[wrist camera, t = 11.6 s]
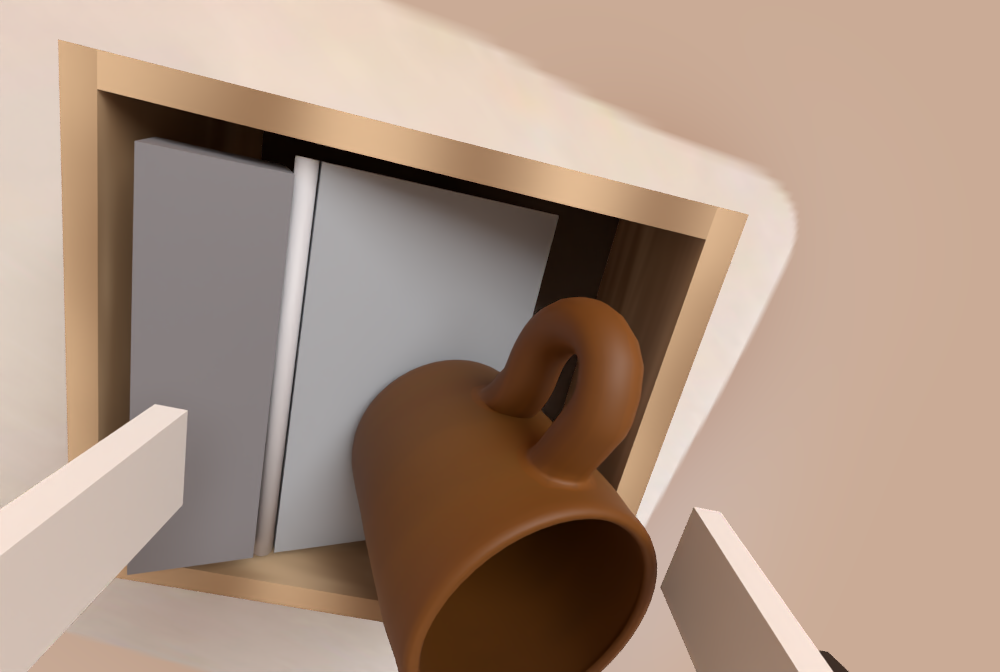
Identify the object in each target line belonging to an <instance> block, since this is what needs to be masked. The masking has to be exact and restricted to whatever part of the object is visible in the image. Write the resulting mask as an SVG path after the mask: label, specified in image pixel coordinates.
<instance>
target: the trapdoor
mask: <svg viewBox="0 0 1000 672" xmlns="http://www.w3.org/2000/svg"><path fill="white" fill-rule="evenodd" d="M319 162H320V166H319ZM318 170H319V174H318ZM317 179H318V182H317ZM316 187H317V191H316ZM315 195H316V199H315ZM314 203H315V207H314ZM313 211H314V215H313ZM558 218H559V216H558V215H555V214H552V213H547V212H543V211H538V210H534V209H530V208H525V207H521V206H516V205H512V204H508V203H503V202H499V201H495V200H490V199H486V198H481V197H477V196H473V195H468V194H464V193H460V192H455V191H451V190H446V189H442V188H438V187H433V186H429V185H424V184H420V183H416V182H411V181H407V180H403V179H398V178H394V177H389V176H385V175H381V174H376V173H372V172H367V171H363V170H359V169H354V168H350V167H346V166H341V165H337V164H332V163H328V162H324V161H319V160H315V159H311V158H307V157H302V156H297V155H295V164H294V173H293V172H292V171H291V170H290V169H289V168H288V167H287V166H286V165H284V164H279V163H275V162H270V161H265V160H261V159H256V158H252V157H247V156H242V155H238V154H233V153H229V152H224V151H219V150H215V149H210V148H206V147H201V146H196V145H192V144H187V143H183V142H178V141H173V140H169V139H164V138H159V137H151V138H146V139H141V140H136V141H135V146H134V203H133V260H132V317H131V374H130V421H131V420H132V419H134V418H135V417H137V416H138V415H140V414H141V413H143V412H144V411H145V410H147V409H148V408H150V407H151V406H153V405H154V404H157V405H163V406H168V407H173V408H178V409H184V410H188V416H187V435H186V454H185V472H184V491H183V505H182V506H181V507H180V508H179V509H178V510H177V511H176V512H175V514H174V515H173V516H172V517H171V518H170V519H169V520H168V521H167V522H166V523H165V524H164V525H163V526H162V528H161V529H160V530H159V531H158V532H157V533H156V534H155V535H154V536H153V537H152V538H151V539H150V540H149V541H148V543H147V544H146V545H145V546H144V547H143V548H142V549H141V550H140V551H139V552H138V553H137V554H136V555H135V557H134V558H133V559H132V560H131V561H130V562H129V563H128V564H127V575H132V574H139V573H146V572H153V571H161V570H168V569H175V568H182V567H189V566H197V565H204V564H211V563H218V562H226V561H233V560H240V559H247V558H253V553H254V554H255V555H257V556H265V555H268V554H269V553H271V551H272V548H273V546H274V553H275V552H283V551H290V550H297V549H305V548H312V547H319V546H327V545H334V544H341V543H349V542H356V541H363V540H365V535H364V530H363V524H362V519H361V513H360V508H359V503H358V498H357V494H356V489H355V484H354V478H353V471H352V448H353V442H354V436H355V433H356V430H357V427H358V424H359V422H360V420H361V418H362V416H363V414H364V412H365V411H366V409H367V408H368V406H369V405H370V403H371V402H372V401H373V400H374V399H375V398H376V396H377V395H378V394H379V393H380V392H381V391H382V390H383V389H384V388H386V387H387V386H388V385H389V384H390V383H392V382H393V381H394V380H396V379H397V378H399V377H400V376H402V375H404V374H406V373H407V372H409V371H411V370H413V369H416V368H418V367H420V366H423V365H426V364H430V363H433V362H438V361H444V360H470V361H474V362H479V363H482V364H485V365H487V366H490V367H492V368H494V369H496V370H497V371H499V372H501V371H502V370H503V369H504V367H505V365H506V363H507V360H508V357H509V355H510V352H511V350H512V348H513V346H514V344H515V342H516V340H517V338H518V336H519V334H520V333H521V331H522V329H523V328H524V326H525V325H526V324H527V323H528V321H529V320H530V319H531V318H532V316H533V312H534V308H535V305H536V301H537V297H538V293H539V290H540V286H541V282H542V278H543V274H544V271H545V267H546V263H547V259H548V256H549V252H550V248H551V244H552V240H553V237H554V233H555V229H556V225H557V222H558ZM312 220H313V223H312ZM311 228H312V231H311ZM310 236H311V240H310ZM309 244H310V248H309ZM308 252H309V256H308ZM307 261H308V264H307ZM306 269H307V272H306ZM305 277H306V281H305ZM304 285H305V289H304ZM303 293H304V297H303ZM302 302H303V305H302ZM301 310H302V313H301ZM300 318H301V322H300ZM299 326H300V330H299ZM298 334H299V338H298ZM297 343H298V346H297ZM296 351H297V354H296ZM295 359H296V362H295ZM294 367H295V371H294ZM293 375H294V379H293ZM292 384H293V387H292ZM291 392H292V395H291ZM290 400H291V403H290ZM289 408H290V412H289ZM288 416H289V420H288ZM287 425H288V428H287ZM286 433H287V436H286ZM285 441H286V444H285ZM284 449H285V452H284ZM283 457H284V461H283ZM282 466H283V469H282ZM281 474H282V477H281ZM280 482H281V485H280ZM279 490H280V493H279ZM278 498H279V502H278ZM277 507H278V510H277ZM276 515H277V518H276ZM275 523H276V526H275ZM274 531H275V534H274ZM273 539H274V542H273Z"/></svg>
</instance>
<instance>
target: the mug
mask: <svg viewBox="0 0 1000 672" xmlns="http://www.w3.org/2000/svg"><path fill="white" fill-rule="evenodd" d="M574 354H576V355H577V357H578V360H579V368H578V380H577V384H576V388H575V392H574V394H573V395H572V397H571V399H570V401H569V402H568V404H567V405H566V406H565V407H564V409H563V410H562V411H561V413H560V414H559V415H558V417H557V418H556V419H555V420H554V422H552V421H551V420H550V419H549V418H548V417H547V416H546V415H545V414H544V413H543V412H542V411H541V409H542V408H543V406H544V405H545V404H546V402H547V401H548V399H549V398H550V396H551V394H552V392H553V390H554V388H555V386H556V383H557V381H558V378H559V376H560V373H561V371H562V369H563V367H564V365H565V364H566V362H567V361H568V359H569V358H570V357H571V356H572V355H574ZM643 373H644V365H643V360H642V355H641V351H640V346H639V342H638V340H637V338H636V337H635V335H634V333H633V332H632V330H631V328H630V327H629V325H628V323H627V322H626V320H625V319H624V317H623V316H622V315H621V314H619V313H618V312H617V311H615V310H614V309H613V308H611V307H610V306H609V305H607V304H605V303H603V302H602V301H600V300H596V299H591V298H587V297H572V298H564V299H560V300H558V301H556V302H554V303H552V304H550V305H548V306H546V307H544V308H542V309H541V310H540V311H539V312H537V313H536V314H535V315H534V316H533V317H532V318H531V319H530V320H529V321H528V323H527V324H526V325H525V326H524V328H523V329H522V331H521V333H520V334H519V336H518V338H517V340H516V342H515V344H514V346H513V348H512V350H511V352H510V355H509V357H508V360H507V363H506V365H505V367H504V369H503V370H502V371H501V372H499V371H497V370H496V369H494V368H492V367H490V366H487V365H485V364H482V363H479V362H474V361H470V360H444V361H438V362H433V363H430V364H426V365H423V366H420V367H418V368H416V369H413V370H411V371H409V372H407V373H406V374H404V375H402V376H400V377H399V378H397V379H396V380H394V381H393V382H392V383H390V384H389V385H388V386H387V387H386V388H384V389H383V390H382V391H381V392H380V393H379V394H378V395H377V396H376V398H375V399H374V400H373V401H372V402H371V403H370V405H369V406H368V408H367V409H366V411H365V412H364V414H363V416H362V418H361V420H360V422H359V424H358V427H357V430H356V433H355V436H354V442H353V448H352V471H353V478H354V484H355V489H356V494H357V498H358V503H359V508H360V513H361V519H362V524H363V530H364V535H365V540H366V545H367V549H368V554H369V559H370V563H371V568H372V573H373V578H374V582H375V587H376V592H377V596H378V601H379V606H380V611H381V615H382V619H383V623H384V627H385V630H386V633H387V636H388V639H389V642H390V645H391V648H392V651H393V654H394V657H395V660H396V664H397V667H398V671H399V672H601V671H602V670H603V669H604V668H605V667H606V666H607V665H608V664H609V663H610V662H611V661H612V660H613V659H614V658H615V657H616V656H617V655H618V653H619V652H620V651H621V650H622V649H623V648H624V646H625V645H626V644H627V642H628V641H629V639H630V638H631V637H632V636H633V634H634V632H635V631H636V629H637V628H638V626H639V625H640V623H641V621H642V619H643V617H644V615H645V613H646V611H647V608H648V606H649V604H650V602H651V599H652V595H653V592H654V589H655V583H656V577H657V561H656V554H655V550H654V547H653V544H652V541H651V538H650V536H649V534H648V533H647V531H646V529H645V528H644V527H643V525H642V524H641V523H640V521H639V520H638V519H637V518H636V517H635V515H634V514H633V513H632V512H631V511H630V509H629V508H628V507H627V505H626V504H625V502H624V501H623V500H622V498H621V497H620V496H619V494H618V493H617V492H616V490H615V489H614V488H613V487H612V486H611V484H610V483H609V482H608V481H607V480H606V479H605V478H604V476H603V475H602V474H601V473H600V472H599V471H598V470H597V469H596V468H597V467H598V466H599V465H600V464H601V463H602V462H603V461H604V460H605V459H606V458H607V457H608V456H609V455H610V454H611V453H612V451H613V450H614V449H615V448H616V447H617V446H618V445H619V444H620V443H621V442H622V441H623V440H624V439H625V437H626V436H627V434H628V432H629V430H630V428H631V426H632V425H633V422H634V418H635V415H636V412H637V408H638V405H639V402H640V398H641V390H642V382H643Z"/></svg>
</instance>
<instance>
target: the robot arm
mask: <svg viewBox="0 0 1000 672" xmlns="http://www.w3.org/2000/svg"><path fill="white" fill-rule="evenodd" d="M187 416H188V410H184V409H178V408H173V407H168V406H163V405H157V404H154V405H153V406H151V407H150V408H148V409H147V410H145V411H144V412H143V413H141V414H140V415H138V416H137V417H135V418H134V419H132V420H131V421H129V422H128V423H126V424H125V425H123V426H122V427H120V428H119V429H118V430H116V431H115V432H113V433H112V434H110V435H109V436H107V437H106V438H104V439H103V440H101V441H100V442H98V443H97V444H95V445H94V446H93V447H91V448H90V449H88V450H87V451H85V452H84V453H82V454H81V455H79V456H78V457H76V458H75V459H73V460H72V461H70V462H69V463H68V464H66V465H65V466H63V467H62V468H60V469H59V470H57V471H56V472H54V473H53V474H51V475H50V476H48V477H47V478H45V479H44V480H43V481H41V482H40V483H38V484H37V485H35V486H34V487H32V488H31V489H29V490H28V491H26V492H25V493H23V494H22V495H20V496H19V497H18V498H16V499H15V500H13V501H12V502H10V503H9V504H7V505H6V506H4V507H3V508H1V509H0V672H28V670H29V669H30V668H31V667H32V666H33V665H34V664H35V663H36V662H37V661H38V660H39V659H40V657H41V656H42V655H43V654H44V653H45V652H46V651H47V650H48V649H49V648H50V647H51V646H52V645H53V644H54V643H55V641H56V640H57V639H58V638H59V637H60V636H61V635H62V634H63V633H64V632H65V631H66V630H67V629H68V627H69V626H70V625H71V624H72V623H73V622H74V621H75V620H76V619H77V618H78V617H79V616H80V615H81V613H82V612H83V611H84V610H85V609H86V608H87V607H88V606H89V605H90V604H91V603H92V602H93V601H94V600H95V598H96V597H97V596H98V595H99V594H100V593H101V592H102V591H103V590H104V589H105V588H106V587H107V586H108V584H109V583H110V582H111V581H112V580H113V579H114V578H115V577H116V576H117V575H118V574H119V573H120V572H121V571H122V569H123V568H124V567H125V566H126V565H127V564H128V563H129V562H130V561H131V560H132V559H133V558H134V557H135V555H136V554H137V553H138V552H139V551H140V550H141V549H142V548H143V547H144V546H145V545H146V544H147V543H148V541H149V540H150V539H151V538H152V537H153V536H154V535H155V534H156V533H157V532H158V531H159V530H160V529H161V528H162V526H163V525H164V524H165V523H166V522H167V521H168V520H169V519H170V518H171V517H172V516H173V515H174V514H175V512H176V511H177V510H178V509H179V508H180V507H181V506H182V505H183V491H184V472H185V454H186V435H187ZM661 590H662V592H663V594H664V597H665V599H666V601H667V604H668V606H669V608H670V610H671V613H672V615H673V618H674V620H675V622H676V625H677V627H678V629H679V632H680V634H681V636H682V639H683V641H684V643H685V646H686V648H687V650H688V652H689V655H690V657H691V660H692V662H693V664H694V666H695V669H696V671H697V672H848V671H847V670H846V669H845V668H844V667H843V666H842V665H841V664H840V663H839V662H838V661H837V660H836V659H835V658H834V657H833V656H832V655H831V654H829V653H828V652H825V651H819V650H817V648H816V647H815V645H814V644H813V643H812V641H811V640H810V638H809V637H808V635H807V634H806V633H805V631H804V630H803V628H802V627H801V625H800V624H799V623H798V621H797V620H796V619H795V617H794V615H793V614H792V613H791V611H790V610H789V608H788V607H787V606H786V604H785V603H784V601H783V600H782V598H781V597H780V596H779V594H778V593H777V591H776V590H775V589H774V587H773V586H772V584H771V583H770V582H769V580H768V579H767V577H766V576H765V574H764V573H763V572H762V570H761V569H760V567H759V566H758V565H757V563H756V562H755V560H754V559H753V558H752V556H751V555H750V553H749V552H748V550H747V549H746V548H745V546H744V545H743V543H742V542H741V540H740V539H739V538H738V536H737V535H736V533H735V532H734V530H733V529H732V528H731V526H730V525H729V523H728V522H727V521H726V519H725V518H724V516H723V515H722V514H721V512H718V511H713V510H708V509H702V508H697V507H694V508H693V510H692V513H691V515H690V517H689V520H688V522H687V525H686V527H685V530H684V532H683V534H682V537H681V539H680V542H679V544H678V547H677V549H676V551H675V554H674V556H673V558H672V561H671V563H670V566H669V568H668V570H667V573H666V575H665V578H664V580H663V582H662V585H661Z"/></svg>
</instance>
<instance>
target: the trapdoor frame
mask: <svg viewBox="0 0 1000 672" xmlns="http://www.w3.org/2000/svg"><path fill="white" fill-rule="evenodd" d="M58 48H59V90H60V132H61V175H62V217H63V259H64V302H65V344H66V386H67V428H68V463H69V462H70V461H72V460H73V459H75V458H76V457H78V456H79V455H81V454H82V453H84V452H85V451H87V450H88V449H90V448H91V447H93V446H94V445H95V444H97V443H98V442H100V441H101V440H103V439H104V438H106V437H107V436H109V435H110V434H112V433H113V432H115V431H116V430H118V429H119V428H120V427H122V426H123V425H125V424H126V423H128V422H129V421H130V374H131V317H132V260H133V203H134V146H135V141H136V140H141V139H146V138H151V137H159V138H164V139H169V140H173V141H178V142H183V143H187V144H192V145H196V146H201V147H206V148H210V149H215V150H219V151H224V152H229V153H233V154H238V155H242V156H247V157H252V158H256V159H261V154H262V143H263V132H264V130H265V131H269V132H273V133H277V134H281V135H285V136H289V137H293V138H297V139H301V140H305V141H310V142H314V143H318V144H322V145H326V146H330V147H334V148H338V149H342V150H346V151H350V152H354V153H358V154H362V155H366V156H370V157H374V158H378V159H382V160H386V161H390V162H394V163H398V164H403V165H407V166H411V167H415V168H419V169H423V170H427V171H431V172H435V173H439V174H443V175H447V176H451V177H455V178H459V179H463V180H467V181H471V182H475V183H479V184H483V185H487V186H492V187H496V188H500V189H504V190H508V191H512V192H516V193H520V194H524V195H528V196H532V197H536V198H540V199H544V200H548V201H552V202H556V203H560V204H564V205H568V206H572V207H576V208H580V209H585V210H589V211H593V212H597V213H601V214H605V215H609V216H613V217H617V218H620V220H619V223H618V227H617V230H616V233H615V237H614V240H613V243H612V247H611V250H610V253H609V257H608V260H607V263H606V267H605V270H604V273H603V277H602V280H601V283H600V286H599V290H598V293H597V296H596V300H600V301H602V302H603V303H605V304H607V305H609V306H610V307H611V308H613V309H614V310H615V311H617V312H618V313H619V314H621V315H622V316H623V317H624V319H625V320H626V322H627V323H628V325H629V327H630V328H631V330H632V332H633V333H634V335H635V337H636V338H637V340H638V342H639V346H640V351H641V355H642V360H643V365H644V373H643V382H642V390H641V398H640V402H639V405H638V408H637V412H636V415H635V418H634V422H633V425H632V426H631V428H630V430H629V432H628V434H627V436H626V437H625V439H624V440H623V441H622V442H621V443H620V444H619V445H618V446H617V447H616V448H615V449H614V450H613V451H612V453H611V454H610V455H609V456H608V457H607V458H606V459H605V460H604V461H603V462H602V463H601V464H600V465H599V466H598V467H597V468H596V469H597V470H598V471H599V472H600V473H601V474H602V475H603V476H604V478H605V479H606V480H607V481H608V482H609V483H610V484H611V486H612V487H613V488H614V489H615V490H616V492H617V493H618V494H619V496H620V497H621V498H622V500H623V501H624V502H625V504H626V505H627V507H628V508H629V509H630V511H631V512H632V513H633V514H634V515H635V516H636V514H637V511H638V508H639V506H640V503H641V500H642V498H643V495H644V492H645V490H646V487H647V484H648V482H649V479H650V476H651V474H652V471H653V468H654V466H655V463H656V460H657V458H658V455H659V452H660V450H661V447H662V444H663V442H664V439H665V436H666V434H667V431H668V428H669V426H670V423H671V420H672V418H673V415H674V412H675V410H676V407H677V404H678V402H679V399H680V396H681V394H682V391H683V388H684V386H685V383H686V380H687V378H688V375H689V372H690V370H691V367H692V364H693V362H694V359H695V356H696V354H697V351H698V348H699V346H700V343H701V340H702V338H703V335H704V332H705V330H706V327H707V324H708V322H709V319H710V316H711V314H712V311H713V308H714V306H715V303H716V300H717V298H718V295H719V292H720V290H721V287H722V284H723V282H724V279H725V276H726V273H727V271H728V268H729V265H730V263H731V260H732V257H733V255H734V252H735V249H736V247H737V244H738V241H739V239H740V236H741V233H742V231H743V228H744V225H745V223H746V220H747V217H748V215H747V214H743V213H740V212H736V211H732V210H728V209H724V208H720V207H716V206H712V205H708V204H704V203H700V202H696V201H692V200H688V199H684V198H680V197H677V196H673V195H669V194H665V193H661V192H657V191H653V190H649V189H645V188H641V187H637V186H633V185H629V184H625V183H621V182H617V181H613V180H610V179H606V178H602V177H598V176H594V175H590V174H586V173H582V172H578V171H574V170H570V169H566V168H562V167H558V166H554V165H550V164H547V163H543V162H539V161H535V160H531V159H527V158H523V157H519V156H515V155H511V154H507V153H503V152H499V151H495V150H491V149H487V148H483V147H480V146H476V145H472V144H468V143H464V142H460V141H456V140H452V139H448V138H444V137H440V136H436V135H432V134H428V133H424V132H420V131H417V130H413V129H409V128H405V127H401V126H397V125H393V124H389V123H385V122H381V121H377V120H373V119H369V118H365V117H361V116H357V115H353V114H350V113H346V112H342V111H338V110H334V109H330V108H326V107H322V106H318V105H314V104H310V103H306V102H302V101H298V100H294V99H290V98H287V97H283V96H279V95H275V94H271V93H267V92H263V91H259V90H255V89H251V88H247V87H243V86H239V85H235V84H231V83H227V82H223V81H220V80H216V79H212V78H208V77H204V76H200V75H196V74H192V73H188V72H184V71H180V70H176V69H172V68H168V67H164V66H160V65H157V64H153V63H149V62H145V61H141V60H137V59H133V58H129V57H125V56H121V55H117V54H113V53H109V52H105V51H101V50H97V49H93V48H90V47H86V46H82V45H78V44H74V43H70V42H66V41H62V40H58ZM578 368H579V360H577V363H576V366H575V370H574V373H573V376H572V380H571V383H570V386H569V390H568V393H567V396H566V399H565V403H564V406H563V409H564V407H565V406H566V405H567V404H568V402H569V401H570V399H571V397H572V395H573V394H574V392H575V388H576V384H577V380H578ZM563 409H562V410H563ZM286 436H287V433H286ZM285 444H286V441H285ZM284 452H285V449H284ZM283 461H284V457H283ZM282 469H283V466H282ZM281 477H282V474H281ZM280 485H281V482H280ZM279 493H280V490H279ZM278 502H279V498H278ZM277 510H278V507H277ZM276 518H277V515H276ZM275 526H276V523H275ZM274 534H275V531H274ZM273 542H274V539H273ZM115 578H121V579H128V580H134V581H140V582H146V583H152V584H158V585H164V586H170V587H176V588H182V589H188V590H194V591H200V592H206V593H212V594H218V595H224V596H230V597H236V598H242V599H248V600H254V601H260V602H266V603H272V604H278V605H284V606H290V607H296V608H302V609H308V610H314V611H320V612H326V613H332V614H338V615H344V616H350V617H356V618H362V619H368V620H374V621H380V622H383V619H382V615H381V611H380V606H379V601H378V596H377V592H376V587H375V582H374V578H373V573H372V568H371V563H370V559H369V554H368V549H367V545H366V540H363V541H356V542H349V543H341V544H334V545H327V546H319V547H312V548H305V549H297V550H290V551H283V552H275V553H274V546H273V548H272V551H271V553H269V554H268V555H265V556H257V555H255V554H254V553H253V558H247V559H240V560H233V561H226V562H218V563H211V564H204V565H197V566H189V567H182V568H175V569H168V570H161V571H153V572H146V573H139V574H132V575H127V565H126V566H125V567H124V568H123V569H122V571H121V572H120V573H119V574H118V575H117V576H116V577H115Z"/></svg>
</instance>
